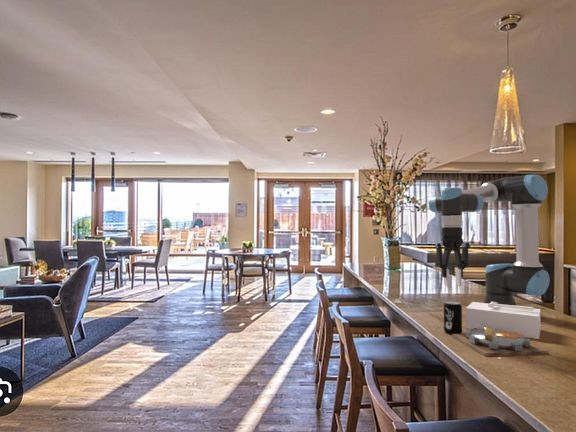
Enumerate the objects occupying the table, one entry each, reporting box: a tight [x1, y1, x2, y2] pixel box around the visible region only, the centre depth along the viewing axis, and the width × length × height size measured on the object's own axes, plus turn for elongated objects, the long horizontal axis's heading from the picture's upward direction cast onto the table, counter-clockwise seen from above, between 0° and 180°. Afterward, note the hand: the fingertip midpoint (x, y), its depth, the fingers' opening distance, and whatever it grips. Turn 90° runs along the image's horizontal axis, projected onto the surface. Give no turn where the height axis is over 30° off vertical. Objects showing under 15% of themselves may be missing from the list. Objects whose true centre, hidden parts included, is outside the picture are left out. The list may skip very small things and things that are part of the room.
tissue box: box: [465, 301, 542, 340], centre depth 155 cm, size 14×25×11 cm, turn 55°
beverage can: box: [443, 300, 463, 335], centre depth 150 cm, size 7×7×12 cm
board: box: [451, 333, 549, 357], centre depth 135 cm, size 22×21×1 cm
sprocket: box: [464, 327, 531, 351], centre depth 135 cm, size 20×20×6 cm
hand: (452, 285), depth 150 cm, fingers open, 4 cm apart
